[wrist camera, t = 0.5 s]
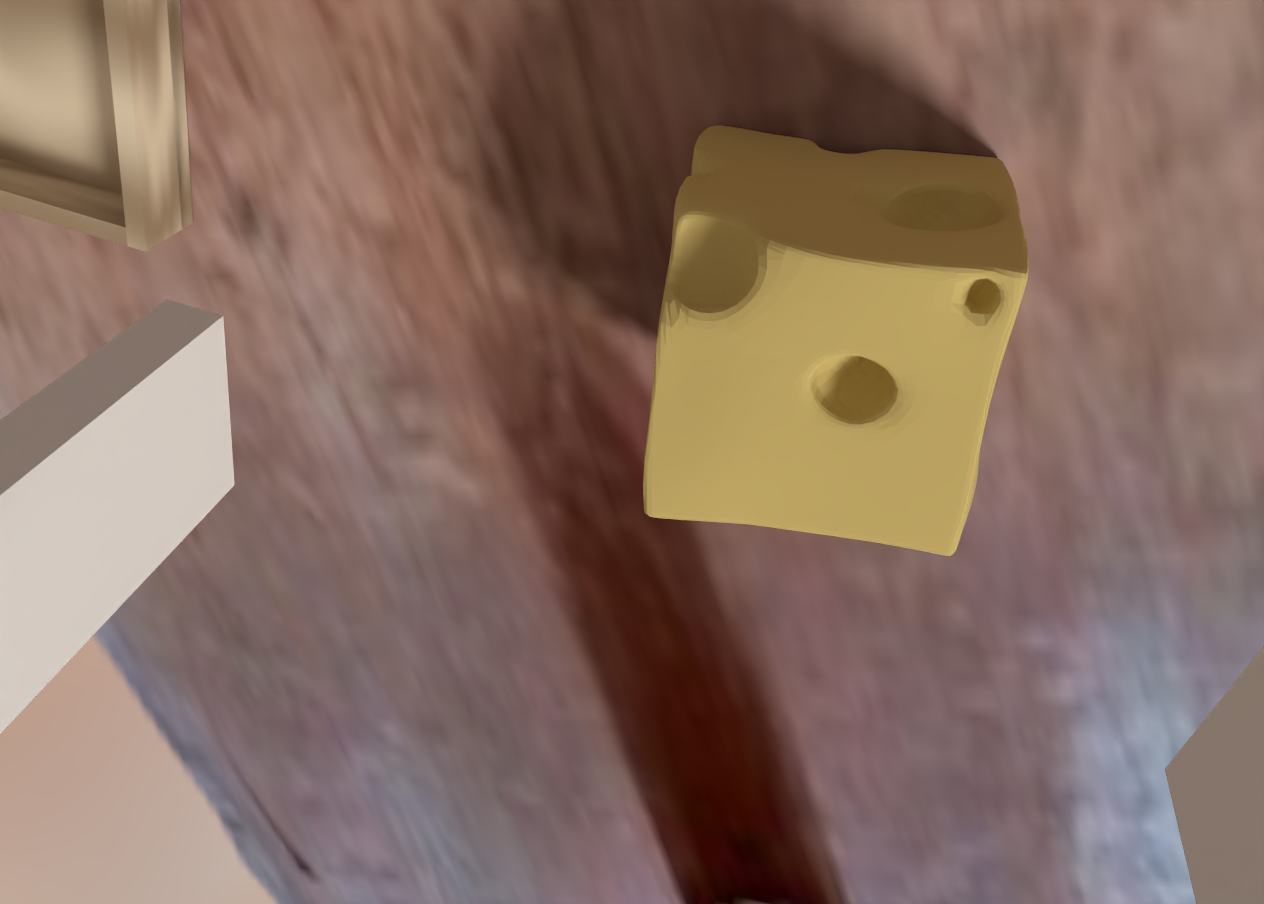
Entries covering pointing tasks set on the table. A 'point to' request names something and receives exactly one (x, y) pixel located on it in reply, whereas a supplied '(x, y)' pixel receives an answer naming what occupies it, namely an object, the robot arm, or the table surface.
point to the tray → (95, 117)
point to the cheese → (831, 338)
